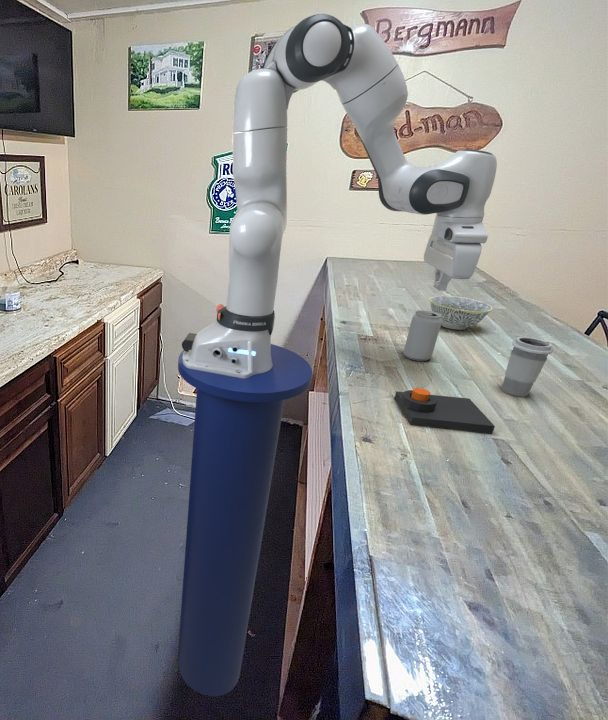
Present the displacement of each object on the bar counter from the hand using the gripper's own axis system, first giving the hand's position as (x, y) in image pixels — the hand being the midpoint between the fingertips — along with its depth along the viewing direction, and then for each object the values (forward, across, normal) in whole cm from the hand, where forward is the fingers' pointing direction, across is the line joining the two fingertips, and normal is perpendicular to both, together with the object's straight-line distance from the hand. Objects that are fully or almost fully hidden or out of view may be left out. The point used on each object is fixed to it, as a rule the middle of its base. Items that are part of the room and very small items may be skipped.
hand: (439, 289), depth 108 cm
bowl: (+20, -33, +19) cm, 43 cm away
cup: (+20, +12, +16) cm, 28 cm away
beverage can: (+19, -4, 0) cm, 20 cm away
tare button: (+16, +28, -9) cm, 33 cm away
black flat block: (+19, +28, -4) cm, 34 cm away
